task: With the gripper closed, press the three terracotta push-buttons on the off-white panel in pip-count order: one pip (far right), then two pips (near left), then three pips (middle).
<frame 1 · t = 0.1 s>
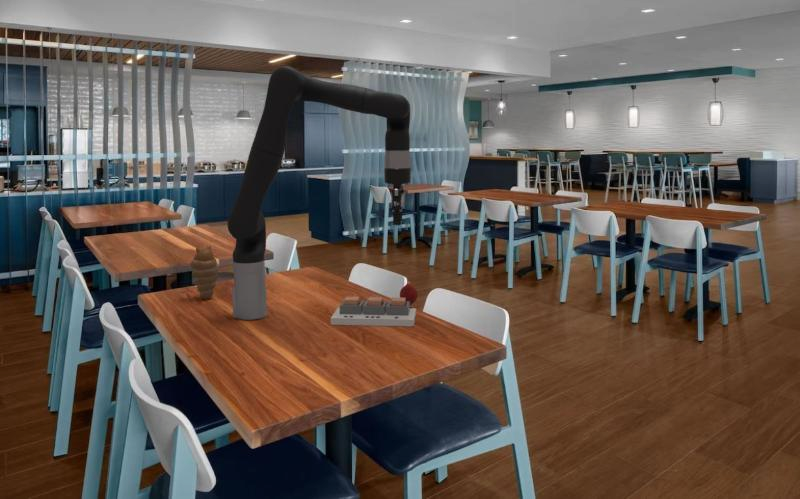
hand: (397, 222, 175), 29 cm above the table, fingers open, 8 cm apart
button two: (351, 301, 181), point 5 cm above the table, slide at 0.0 cm
button one: (398, 302, 179), point 5 cm above the table, slide at 0.0 cm
button three: (375, 302, 180), point 5 cm above the table, slide at 0.0 cm
onion: (408, 306, 194), on the table
button panel: (374, 319, 179), on the table
cat ice cream: (206, 299, 204), on the table
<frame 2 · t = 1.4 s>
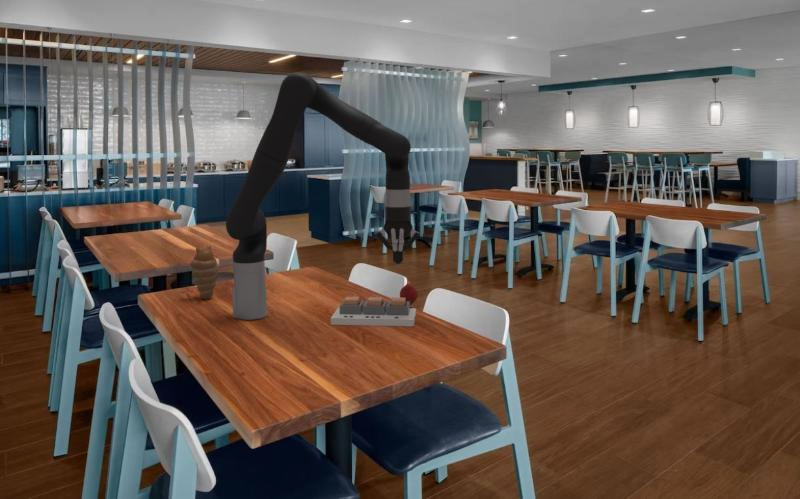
hand: (398, 263, 177), 17 cm above the table, fingers closed
nothing on the table moved.
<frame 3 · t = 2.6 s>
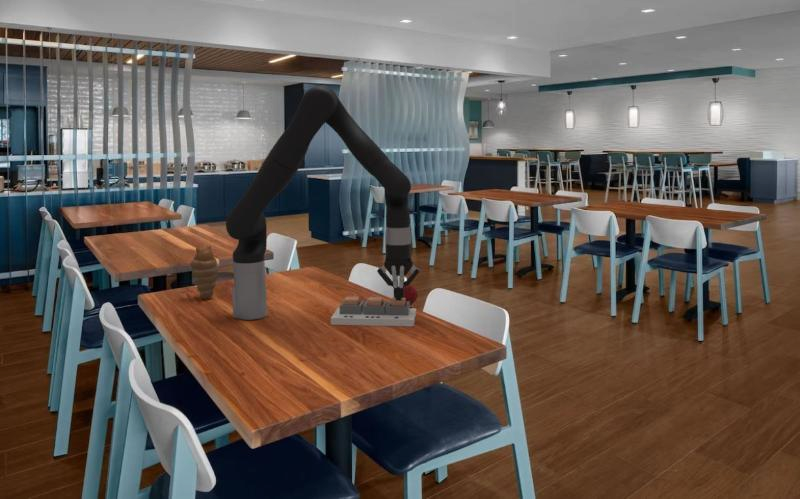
hand: (398, 299, 179), 6 cm above the table, fingers closed
button one: (398, 302, 179), point 5 cm above the table, slide at 0.0 cm, touching gripper
everything else where it was.
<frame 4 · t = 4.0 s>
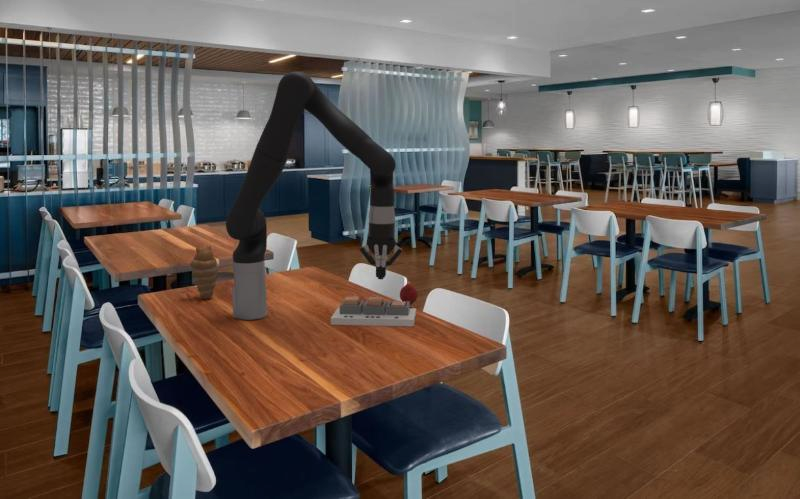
hand: (380, 278, 179), 12 cm above the table, fingers closed
button one: (398, 306, 180), point 4 cm above the table, slide at 1.3 cm
everything else where it was.
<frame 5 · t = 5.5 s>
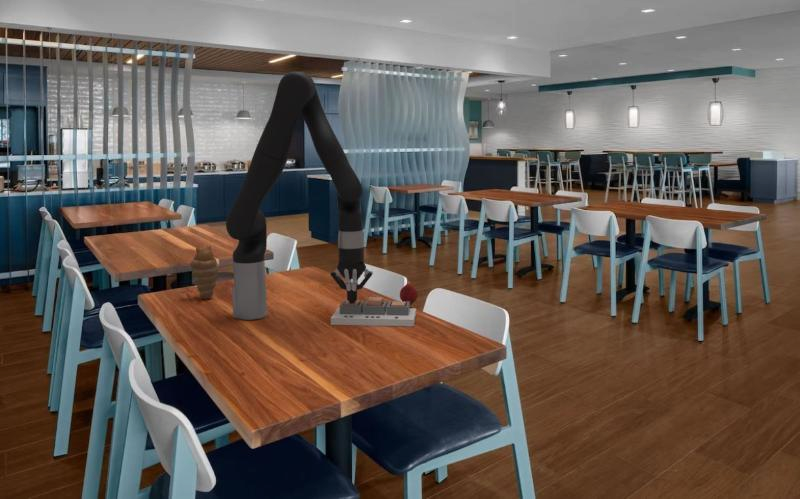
hand: (352, 302, 180), 5 cm above the table, fingers closed
button two: (352, 305, 181), point 4 cm above the table, slide at 1.2 cm, touching gripper
everything else where it was.
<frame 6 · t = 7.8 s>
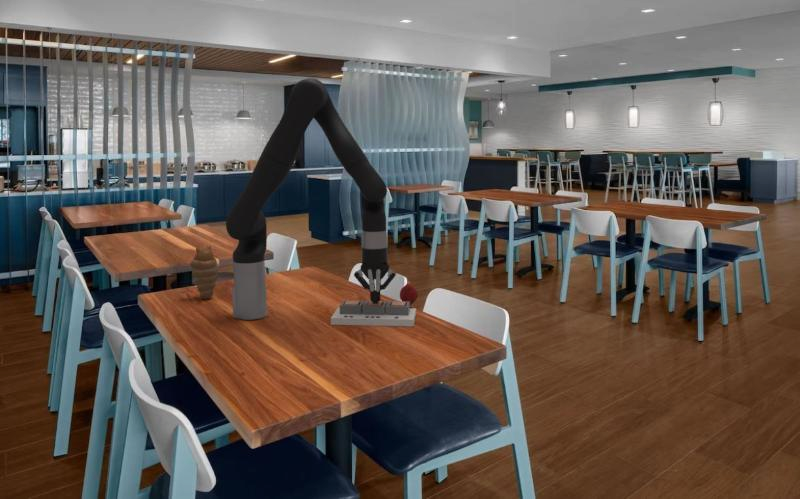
hand: (375, 302, 180), 5 cm above the table, fingers closed
button two: (352, 305, 181), point 4 cm above the table, slide at 1.3 cm
button three: (375, 305, 180), point 4 cm above the table, slide at 1.2 cm, touching gripper
everything else where it was.
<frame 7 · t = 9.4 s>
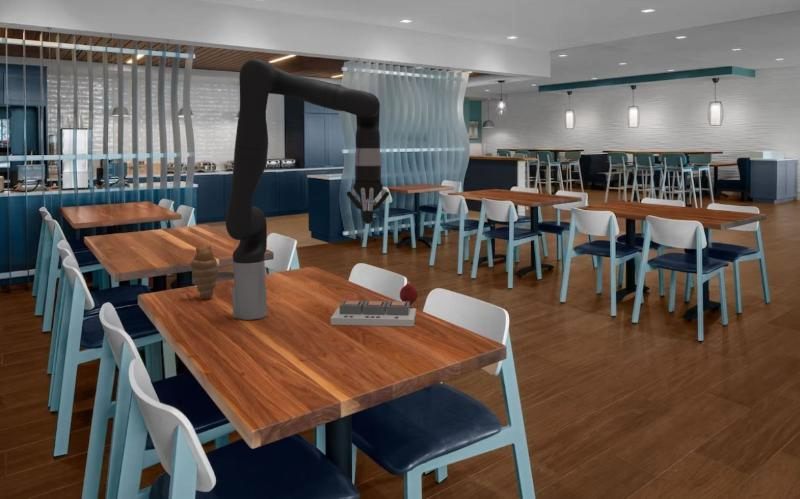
hand: (368, 223, 178), 28 cm above the table, fingers closed
button three: (375, 306, 180), point 4 cm above the table, slide at 1.3 cm
everything else where it was.
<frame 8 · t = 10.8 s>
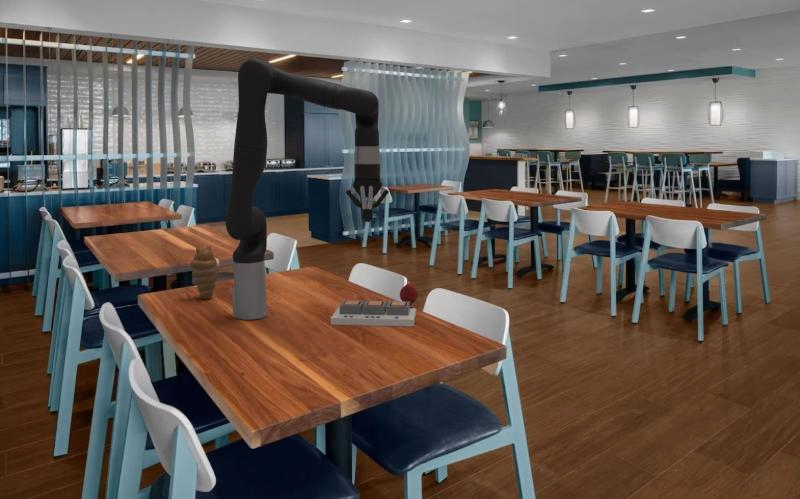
hand: (368, 221, 177), 29 cm above the table, fingers closed
nothing on the table moved.
at the end: button one slide at 1.3 cm; button two slide at 1.3 cm; button three slide at 1.3 cm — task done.
